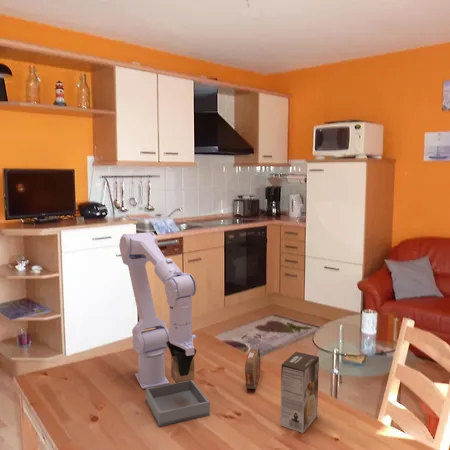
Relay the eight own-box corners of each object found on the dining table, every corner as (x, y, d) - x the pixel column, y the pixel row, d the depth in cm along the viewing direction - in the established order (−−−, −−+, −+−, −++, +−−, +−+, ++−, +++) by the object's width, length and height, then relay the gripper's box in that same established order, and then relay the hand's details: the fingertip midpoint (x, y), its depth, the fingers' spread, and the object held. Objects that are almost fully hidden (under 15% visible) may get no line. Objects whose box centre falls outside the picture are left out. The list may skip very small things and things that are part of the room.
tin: (254, 394, 124) (254, 365, 123) (243, 393, 125) (243, 364, 124) (261, 370, 139) (261, 344, 138) (251, 369, 140) (251, 343, 139)
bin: (145, 400, 121) (145, 388, 120) (192, 391, 126) (191, 379, 126) (159, 426, 109) (159, 413, 108) (209, 414, 114) (209, 402, 114)
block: (171, 376, 119) (171, 356, 118) (188, 373, 121) (188, 353, 120) (176, 383, 115) (176, 362, 114) (194, 379, 117) (194, 359, 116)
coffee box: (294, 409, 117) (296, 350, 115) (317, 416, 114) (319, 356, 112) (279, 426, 109) (280, 363, 107) (304, 434, 106) (306, 370, 104)
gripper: (205, 328, 111) (205, 380, 113) (185, 311, 124) (186, 357, 126) (178, 332, 108) (179, 385, 110) (161, 314, 121) (161, 362, 123)
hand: (181, 371), depth 118 cm, fingers closed on block, 4 cm apart
